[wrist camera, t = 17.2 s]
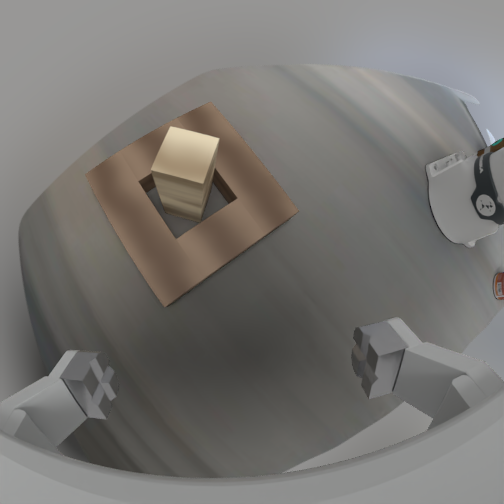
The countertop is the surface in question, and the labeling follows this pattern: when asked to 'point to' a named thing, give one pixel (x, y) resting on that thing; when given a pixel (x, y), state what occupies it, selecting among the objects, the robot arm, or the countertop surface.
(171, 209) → the maple peg
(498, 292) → the pill bottle
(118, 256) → the countertop surface
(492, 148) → the mug
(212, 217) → the socket block
